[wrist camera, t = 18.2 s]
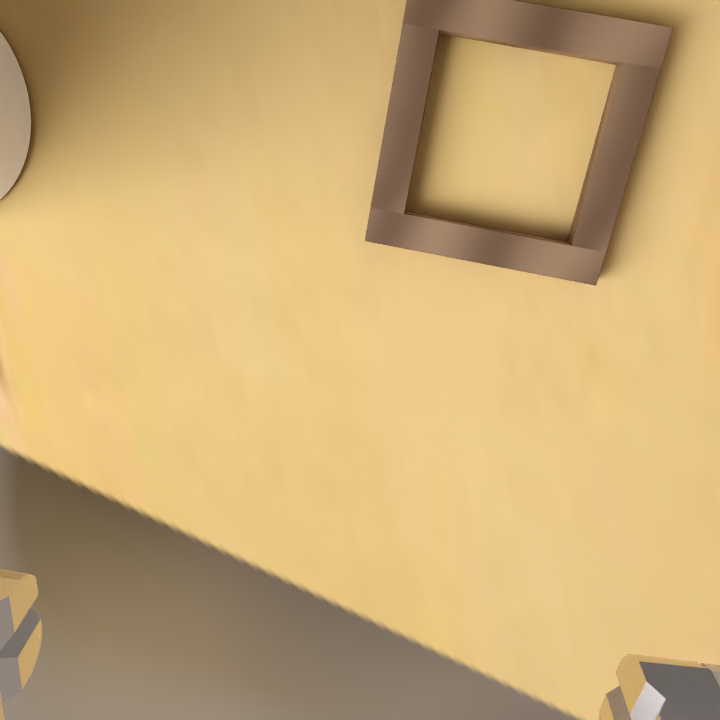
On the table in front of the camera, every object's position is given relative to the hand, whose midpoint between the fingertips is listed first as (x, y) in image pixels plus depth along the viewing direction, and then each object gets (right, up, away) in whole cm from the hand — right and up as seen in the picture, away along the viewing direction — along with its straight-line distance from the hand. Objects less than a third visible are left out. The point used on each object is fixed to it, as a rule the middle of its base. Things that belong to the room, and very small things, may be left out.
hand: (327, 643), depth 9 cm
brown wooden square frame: (+9, +17, +30) cm, 35 cm away
